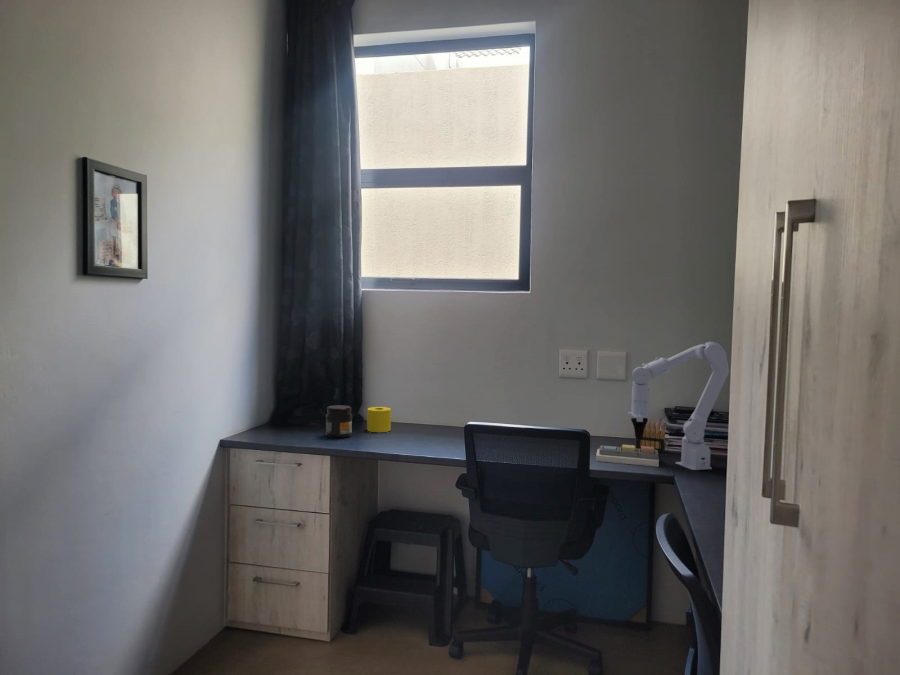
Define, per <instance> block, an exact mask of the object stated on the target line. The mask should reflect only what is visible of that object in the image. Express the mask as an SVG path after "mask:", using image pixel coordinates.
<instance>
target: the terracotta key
mask: <svg viewBox="0 0 900 675" xmlns="http://www.w3.org/2000/svg"><path fill="white" fill-rule="evenodd" d="M641 453H652V454H654V447H646V446H641Z"/></svg>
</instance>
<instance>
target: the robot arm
mask: <svg viewBox="0 0 900 675" xmlns="http://www.w3.org/2000/svg"><path fill="white" fill-rule="evenodd" d="M693 359H698V360H704V359H705V360H706V361H707V362H708V363H709V366H710V368H711V370H712V372H711V375H710V376H709V378H708V381H707V383H706V384H705V388H704V389H703V391H702V394H701V396H700V398H699V400H698V403H697V404H696V406H695V409H694V411H693V412H692V413H691V415H690V417H689V419H688V420H686V421H685V422H684V423H683V425H682V431H683V433H684V436H683V437H682V438H681V453H680V454H681V457H680V461H676V462H675V465H678V466H681V467H684V468H686V469H688V470H692V471H700V470H702V471H703V470H704V471H705V470H712V467H711V449H710V447H709V446H708V445H706V444H705V440H704V437H705V428H706V426H707V422H708V418H709V416H710V414H711V411H712V410H713V407H714V405H715V403H716V401H717V399H718V397H719V394H720V393H721V391H722V388H723V387H724V384H725V381H726V379H727V377H728V375H729V374H730V367H729V362H728V358H727V352H726V350H725V349H724V348H723V346H722V345H721V344H720V343H717V342H715V341H707V342H705V343H701V344H700V343H699V344H698V345H694V346H692V347H691V346H690V347H689V348H687V349H686V350H682V351H681V352H679V353H677V354H675V355H673V356H670V357H669V358H665V357H659V356H658V357H656V358H654V360H652V361H651V362H648V363H642V364H641V365H642V366H637V367H635V368H634V369H633V370H632V374H631V377H632V379H633V381H632V387H631V408H630V410H631V411H628V412H627V415H631V416H632V417H631V420H630V421H631V423H632V425H633V429H634V437H635V439H636V440H637V439H642V437H643V433H644V428H645V426H646V427H647V423H648V420H649V419H648V418H647V417H649V392H650V391H649V381H650V380H654V379H656V378H658V377H661V376H663V375H666V374H667V373H670V371H671V368H672V367H675V366H677V365H680V364H682V363H685V362H688V361H690V360H693Z"/></svg>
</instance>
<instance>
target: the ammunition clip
mask: <svg viewBox="0 0 900 675" xmlns="http://www.w3.org/2000/svg"><path fill="white" fill-rule="evenodd" d="M665 427H666V423H665V421H664V420H663V421H662V423H661V424H660V420H657V423H656V421H655V420H654V419H653V420H652V424H651V420H650V419H648V422H647V424H646V426H645V428H644V433H643V437H642V439H636V443H635V448H637V449H641V446H646V447H654V450H658V453H665V452H666V443H665V442H666V428H665Z"/></svg>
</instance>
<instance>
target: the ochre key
mask: <svg viewBox="0 0 900 675" xmlns="http://www.w3.org/2000/svg"><path fill="white" fill-rule="evenodd" d="M621 447H622V451H629V452H635V448H636V445H634V444H633V445H632V444H622V445H621Z"/></svg>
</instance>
